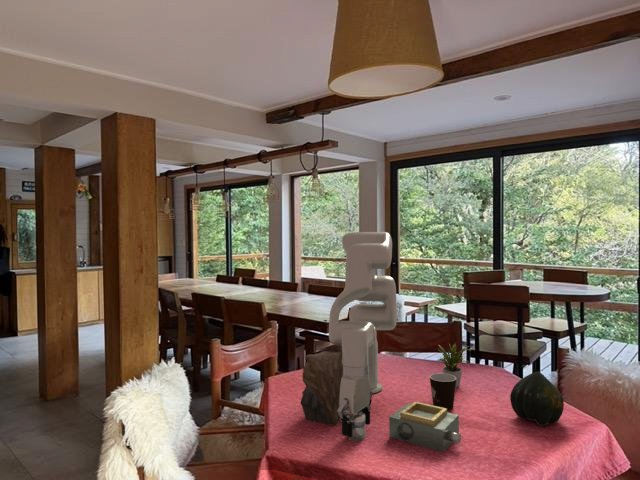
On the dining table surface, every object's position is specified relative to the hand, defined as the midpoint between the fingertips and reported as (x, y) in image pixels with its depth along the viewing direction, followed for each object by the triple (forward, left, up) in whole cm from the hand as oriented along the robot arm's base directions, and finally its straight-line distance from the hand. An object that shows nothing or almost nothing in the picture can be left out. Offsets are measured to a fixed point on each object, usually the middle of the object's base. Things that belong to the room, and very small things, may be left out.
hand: (356, 429), depth 132 cm
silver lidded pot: (0, 0, -2) cm, 2 cm away
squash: (+40, +41, -3) cm, 57 cm away
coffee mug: (+12, +36, -3) cm, 38 cm away
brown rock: (-15, +6, -3) cm, 16 cm away
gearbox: (+17, +11, -2) cm, 21 cm away
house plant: (+9, +56, -3) cm, 57 cm away
